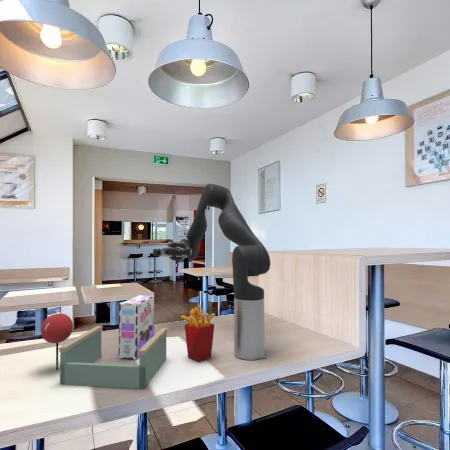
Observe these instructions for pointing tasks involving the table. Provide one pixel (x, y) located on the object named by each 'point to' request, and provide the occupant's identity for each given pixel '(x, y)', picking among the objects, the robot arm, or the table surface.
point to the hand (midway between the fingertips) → (167, 253)
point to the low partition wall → (109, 373)
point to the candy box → (135, 325)
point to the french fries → (199, 335)
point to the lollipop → (56, 330)
